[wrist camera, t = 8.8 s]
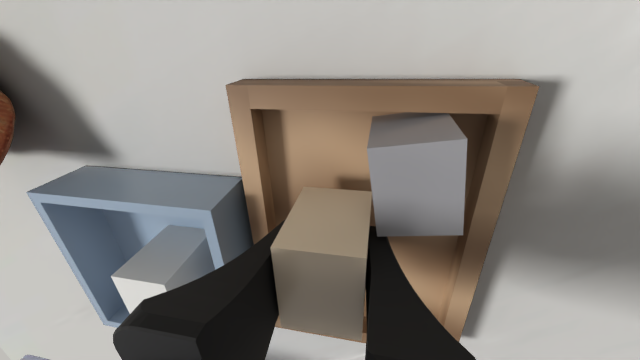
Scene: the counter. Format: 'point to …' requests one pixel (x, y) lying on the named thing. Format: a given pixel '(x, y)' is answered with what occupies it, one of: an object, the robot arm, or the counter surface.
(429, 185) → the matte stone cube
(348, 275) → the cream cube
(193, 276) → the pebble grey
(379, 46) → the counter surface
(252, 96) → the tray
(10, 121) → the bread loaf
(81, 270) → the dish
